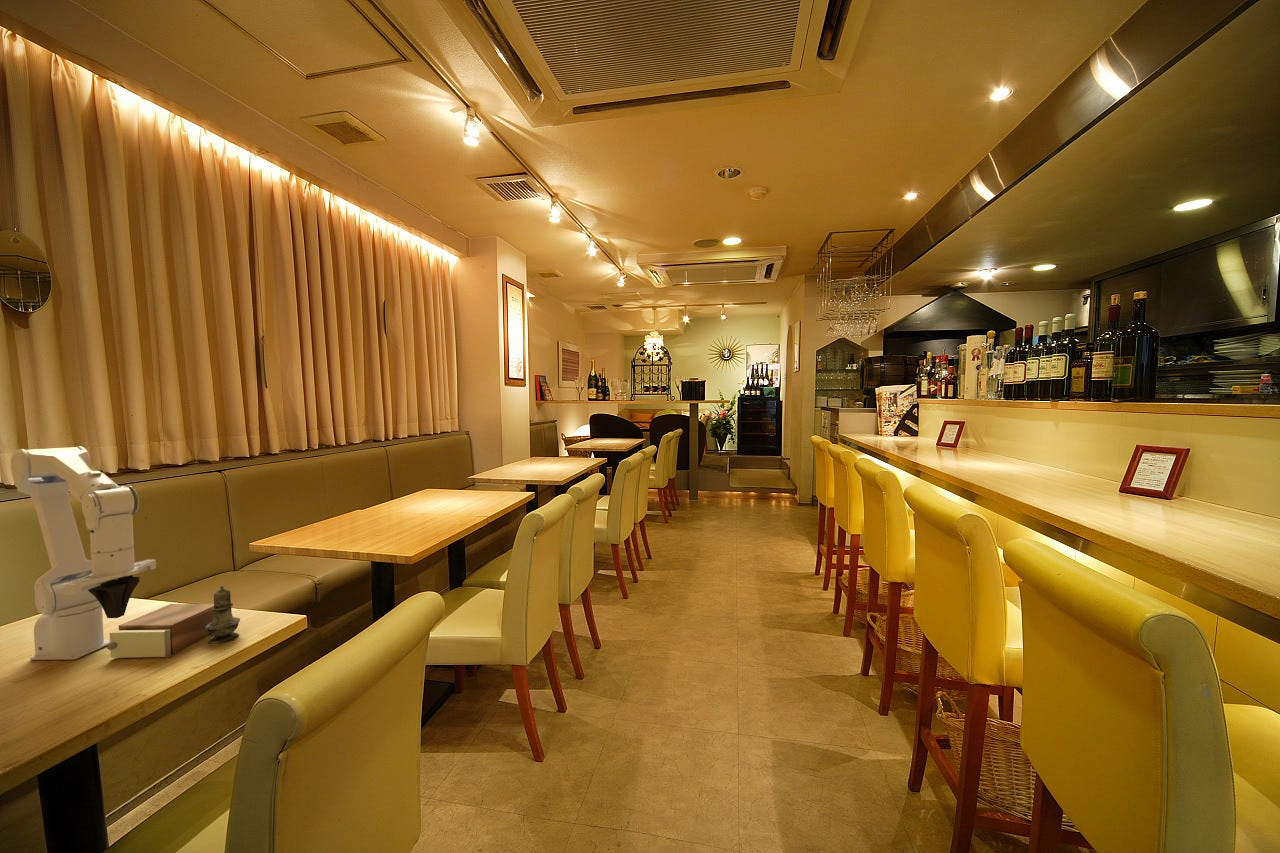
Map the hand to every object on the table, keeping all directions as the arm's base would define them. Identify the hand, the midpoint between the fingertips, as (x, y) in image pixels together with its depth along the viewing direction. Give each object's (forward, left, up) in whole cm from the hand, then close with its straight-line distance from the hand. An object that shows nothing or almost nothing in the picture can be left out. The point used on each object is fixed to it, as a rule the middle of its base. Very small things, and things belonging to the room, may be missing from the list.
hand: (115, 616), depth 94 cm
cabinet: (+1, +9, -10) cm, 14 cm away
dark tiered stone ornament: (+11, +11, -10) cm, 19 cm away
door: (+2, +3, -10) cm, 10 cm away
